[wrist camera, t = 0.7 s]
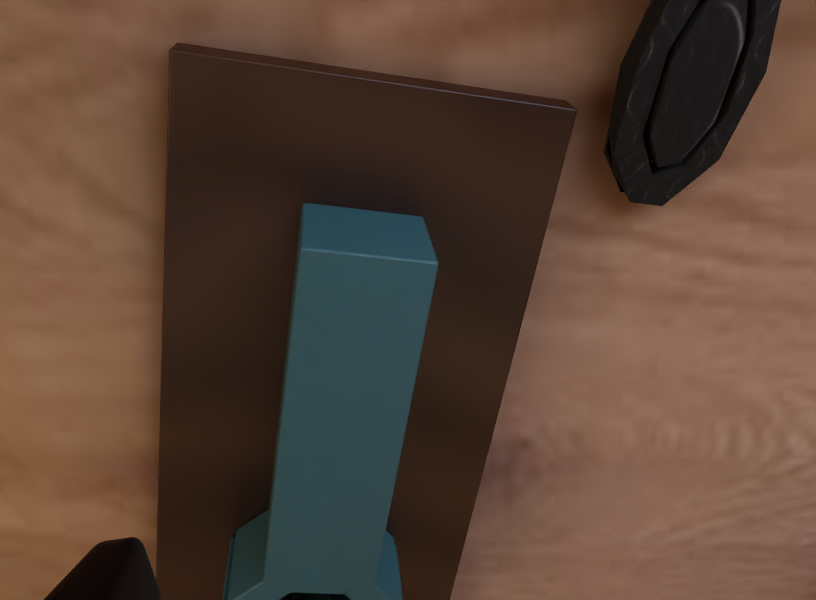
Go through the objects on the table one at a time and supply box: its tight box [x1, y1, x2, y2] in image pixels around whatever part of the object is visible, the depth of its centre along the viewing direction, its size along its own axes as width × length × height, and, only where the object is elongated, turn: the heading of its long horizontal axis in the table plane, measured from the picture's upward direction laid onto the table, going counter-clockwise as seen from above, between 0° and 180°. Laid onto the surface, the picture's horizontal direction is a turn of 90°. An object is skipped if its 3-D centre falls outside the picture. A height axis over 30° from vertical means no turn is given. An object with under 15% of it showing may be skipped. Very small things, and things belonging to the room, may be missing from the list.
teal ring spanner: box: [222, 203, 438, 600], centre depth 22 cm, size 15×5×3 cm, turn 170°
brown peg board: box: [156, 43, 577, 600], centre depth 21 cm, size 19×10×6 cm, turn 170°
